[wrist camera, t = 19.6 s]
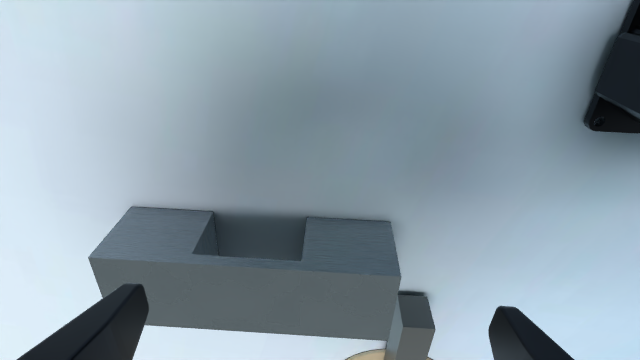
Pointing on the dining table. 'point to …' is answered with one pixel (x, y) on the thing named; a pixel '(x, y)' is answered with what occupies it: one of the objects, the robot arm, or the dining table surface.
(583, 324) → the dining table surface
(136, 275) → the grey notched block
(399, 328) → the tan block with bar
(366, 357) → the coaster
